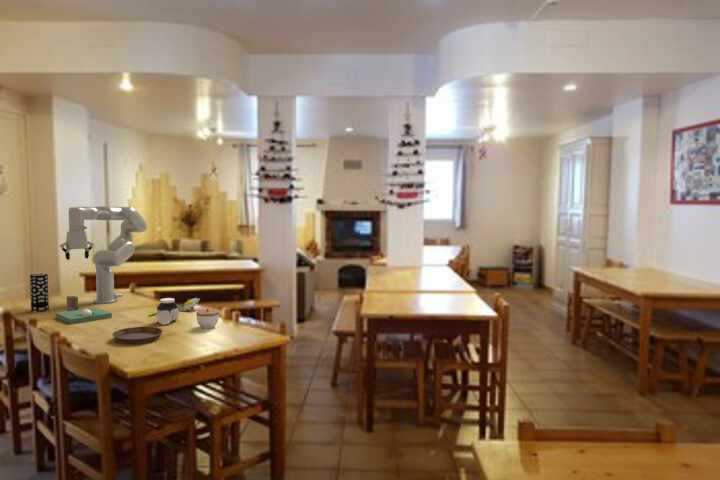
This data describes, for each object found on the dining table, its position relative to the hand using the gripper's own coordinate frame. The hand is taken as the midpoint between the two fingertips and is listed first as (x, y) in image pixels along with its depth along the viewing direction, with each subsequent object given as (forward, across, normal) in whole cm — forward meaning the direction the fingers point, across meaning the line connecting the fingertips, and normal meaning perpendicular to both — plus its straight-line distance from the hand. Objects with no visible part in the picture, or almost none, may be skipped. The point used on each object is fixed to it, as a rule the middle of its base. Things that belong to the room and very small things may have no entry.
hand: (77, 258), depth 279 cm
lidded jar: (+28, -27, +90) cm, 98 cm away
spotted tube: (+28, +17, -8) cm, 34 cm away
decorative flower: (+29, -32, +48) cm, 64 cm away
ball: (+26, +8, +31) cm, 41 cm away
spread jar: (+29, -18, +67) cm, 75 cm away
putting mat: (+28, +7, +27) cm, 40 cm away
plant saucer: (+29, +6, +86) cm, 91 cm away
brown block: (+28, +7, +11) cm, 31 cm away
